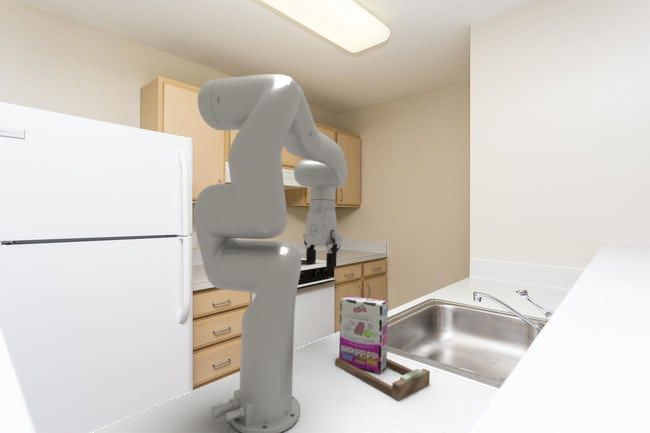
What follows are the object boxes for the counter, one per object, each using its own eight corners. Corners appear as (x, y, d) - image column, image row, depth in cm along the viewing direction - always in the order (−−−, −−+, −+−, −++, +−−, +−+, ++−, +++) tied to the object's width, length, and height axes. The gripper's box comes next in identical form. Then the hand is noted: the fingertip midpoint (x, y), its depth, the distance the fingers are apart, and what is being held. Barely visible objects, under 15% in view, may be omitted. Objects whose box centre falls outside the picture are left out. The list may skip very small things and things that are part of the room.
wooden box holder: (398, 400, 64) (398, 382, 65) (335, 365, 80) (335, 350, 80) (429, 384, 71) (429, 368, 71) (365, 354, 86) (366, 341, 87)
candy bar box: (387, 367, 79) (389, 300, 80) (380, 375, 75) (382, 304, 75) (346, 356, 85) (348, 294, 85) (337, 363, 81) (339, 298, 81)
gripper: (295, 206, 99) (293, 262, 99) (331, 205, 85) (329, 270, 85) (314, 207, 104) (313, 260, 104) (351, 206, 90) (350, 267, 90)
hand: (320, 264), depth 94 cm, fingers open, 9 cm apart
